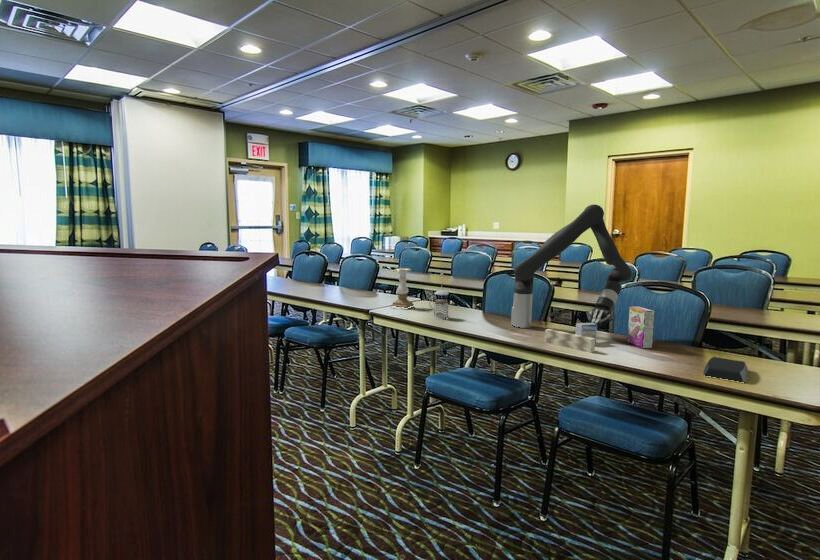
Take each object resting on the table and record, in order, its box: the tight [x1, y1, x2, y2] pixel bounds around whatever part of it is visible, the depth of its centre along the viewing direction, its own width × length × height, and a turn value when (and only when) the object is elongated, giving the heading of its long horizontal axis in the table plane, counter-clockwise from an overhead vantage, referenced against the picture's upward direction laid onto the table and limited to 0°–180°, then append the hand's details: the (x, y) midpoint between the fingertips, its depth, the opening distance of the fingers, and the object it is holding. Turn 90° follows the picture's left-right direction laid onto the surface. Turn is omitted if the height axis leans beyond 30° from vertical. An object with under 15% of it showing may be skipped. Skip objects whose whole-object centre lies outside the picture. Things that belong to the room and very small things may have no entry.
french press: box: [428, 272, 450, 320], centre depth 260 cm, size 10×12×25 cm
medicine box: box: [575, 322, 598, 344], centre depth 210 cm, size 8×4×9 cm, turn 105°
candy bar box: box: [626, 305, 656, 349], centre depth 206 cm, size 11×5×16 cm, turn 9°
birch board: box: [544, 328, 596, 353], centre depth 203 cm, size 22×3×6 cm, turn 40°
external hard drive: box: [703, 356, 749, 383], centre depth 169 cm, size 13×19×4 cm
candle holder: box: [390, 267, 415, 308], centre depth 290 cm, size 11×11×24 cm
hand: (591, 330), depth 213 cm, fingers closed
